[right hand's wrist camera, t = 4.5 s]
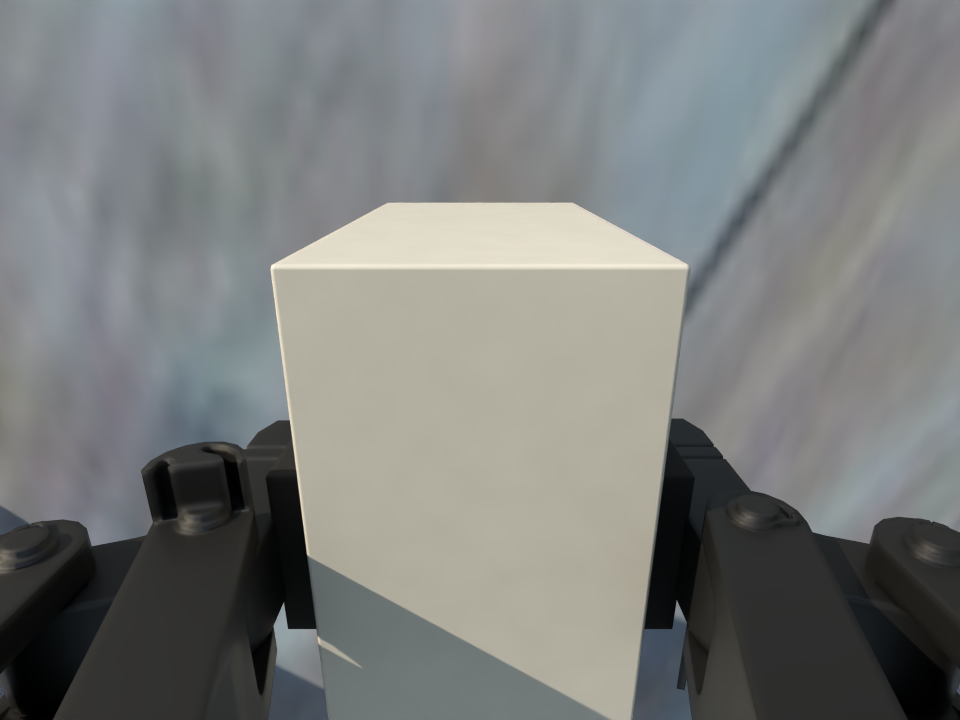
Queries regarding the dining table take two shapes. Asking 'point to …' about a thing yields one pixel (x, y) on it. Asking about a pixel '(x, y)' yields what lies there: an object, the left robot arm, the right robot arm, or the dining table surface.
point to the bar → (480, 455)
